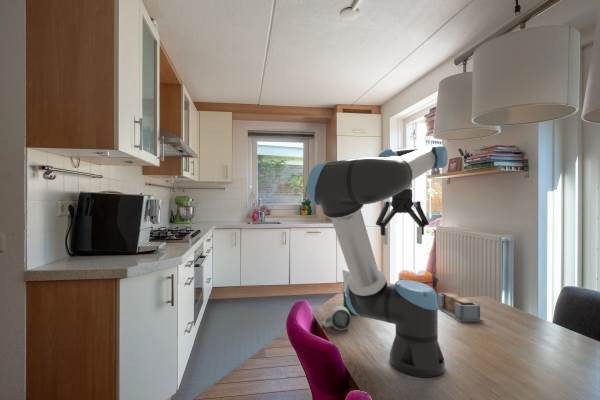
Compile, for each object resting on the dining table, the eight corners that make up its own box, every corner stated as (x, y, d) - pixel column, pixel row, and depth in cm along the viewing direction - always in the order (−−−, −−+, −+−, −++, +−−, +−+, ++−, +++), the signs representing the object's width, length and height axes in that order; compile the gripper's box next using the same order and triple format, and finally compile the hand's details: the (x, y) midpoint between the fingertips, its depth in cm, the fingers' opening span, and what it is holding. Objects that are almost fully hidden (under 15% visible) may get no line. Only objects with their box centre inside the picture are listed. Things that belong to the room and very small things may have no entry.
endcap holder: (483, 320, 127) (483, 305, 127) (459, 321, 126) (459, 306, 126) (454, 305, 147) (454, 292, 147) (434, 305, 146) (433, 292, 146)
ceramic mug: (348, 322, 126) (348, 303, 126) (351, 330, 118) (351, 309, 118) (322, 322, 126) (321, 303, 126) (323, 330, 118) (322, 310, 118)
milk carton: (349, 315, 135) (349, 267, 135) (340, 308, 143) (340, 264, 143) (367, 312, 137) (367, 266, 138) (357, 306, 146) (357, 263, 146)
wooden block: (472, 316, 130) (472, 302, 130) (464, 317, 130) (464, 302, 130) (450, 306, 144) (450, 293, 144) (442, 306, 143) (442, 293, 143)
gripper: (428, 189, 127) (428, 242, 127) (367, 189, 125) (367, 243, 125) (437, 188, 120) (438, 244, 119) (373, 188, 118) (374, 245, 117)
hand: (402, 243), depth 122 cm, fingers open, 13 cm apart
